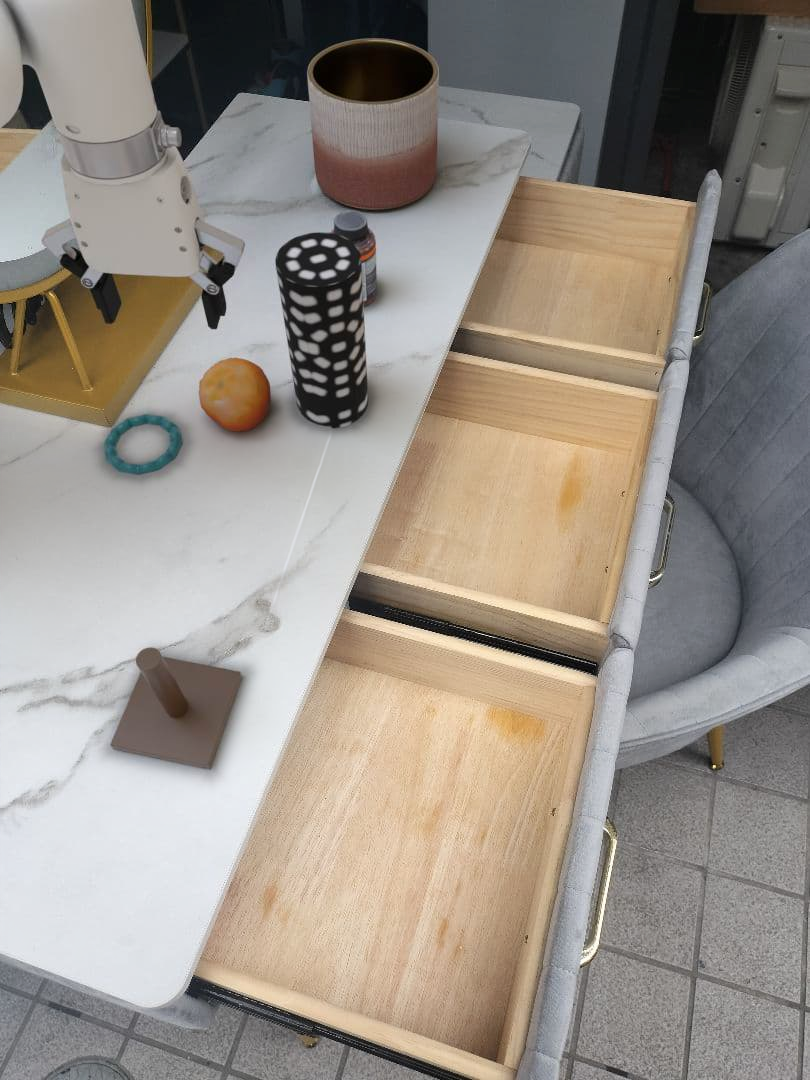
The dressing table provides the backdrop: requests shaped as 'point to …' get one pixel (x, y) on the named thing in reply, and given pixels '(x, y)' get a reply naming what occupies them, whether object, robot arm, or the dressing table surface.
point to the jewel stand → (176, 710)
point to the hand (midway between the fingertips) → (165, 316)
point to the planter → (374, 122)
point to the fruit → (235, 394)
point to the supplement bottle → (360, 248)
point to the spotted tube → (325, 326)
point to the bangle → (149, 466)
